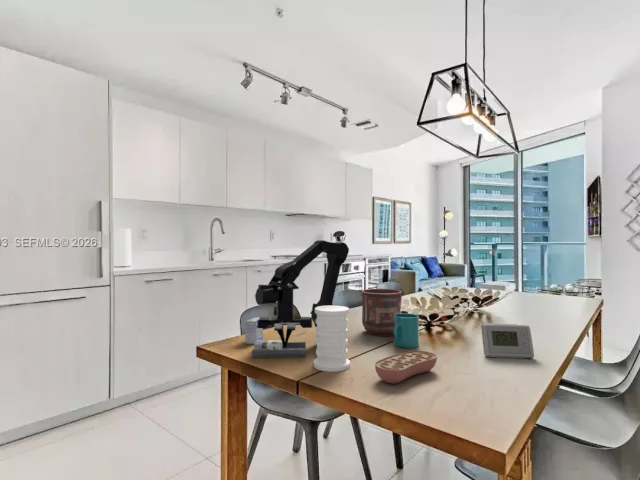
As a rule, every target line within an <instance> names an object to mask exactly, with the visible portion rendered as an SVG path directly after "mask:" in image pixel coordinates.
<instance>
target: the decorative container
mask: <svg viewBox="0 0 640 480" xmlns="http://www.w3.org/2000/svg"><path fill="white" fill-rule="evenodd" d="M315 313H316V314H317V319H316V324H317V327H316V329H315V335H316V339H315V345H316V349H315V354H316V358H315V359H314V360H313V363H312V364H313V365H312V366H313V367H314V369H317V370H318V371H322V372H330V373H336V372H337V373H338V372H343V371H346V370H348V369H349V368H350V367H351V361H350V359H348V358H347V356H348V354H349V351H348V350H349V349H348V348H347V346H348V345H349V344H348V343H349V340H348V338H347V336H348V334H349V329H348V328H347V325H348V323H349V320H348V318H347V315H348V314H349V313H350V308H349V307H348V306H344V305H334V304H333V305H328V306H319V307H315Z"/></svg>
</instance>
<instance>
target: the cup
mask: <svg viewBox="0 0 640 480" xmlns="http://www.w3.org/2000/svg"><path fill="white" fill-rule="evenodd" d="M419 320H420V317H419V315H418V314H415V313H407V312H404V313H403V312H401V313H399V314H395V315H394V335H393V338H394V339H393V340H394V341H393V343H394V345H395V346H397V347H399V348H403V349H404V348H405V349H413V348H417V347H418V346H419V345H420V343H419V342H420V336H419V335H420V330H419V327H420V326H419V323H420V321H419Z"/></svg>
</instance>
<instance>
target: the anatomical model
mask: <svg viewBox="0 0 640 480" xmlns="http://www.w3.org/2000/svg"><path fill="white" fill-rule="evenodd" d="M437 360H438V356H437V355H436V354H435V353H433V352H429V351H425V350H410V351H405V352H401V353H400V352H399V353H397V354H393V355H390V356H387V357H384V358H381V359H380V360H377V361H376V362H375V364H374V367H375V372H376V374H377V376H378V378H380V379H381V380H382V381H383V382H385V383H388V384H393V385H394V384H397V383H400V382H402V381H404V380H406V379H408V378H410V377H414V376H415V375H420V374H422V373H427V372H429V371H431V370H433V368H434V367H435V366H436V363H437Z"/></svg>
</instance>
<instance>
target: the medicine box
mask: <svg viewBox="0 0 640 480" xmlns="http://www.w3.org/2000/svg"><path fill="white" fill-rule="evenodd" d="M259 318H260V317H258V316H257V317H255V316H254V317H252V318H249V319H248V320H246V321H244V340H245V341H244V342H245V344H247V345H254V344H255V342H256V340H257V339H264V336H263V335H264V333H263V331H264V328H257V323H258V320H259Z"/></svg>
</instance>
